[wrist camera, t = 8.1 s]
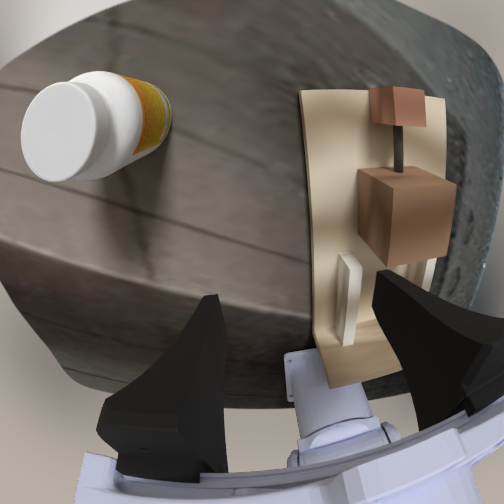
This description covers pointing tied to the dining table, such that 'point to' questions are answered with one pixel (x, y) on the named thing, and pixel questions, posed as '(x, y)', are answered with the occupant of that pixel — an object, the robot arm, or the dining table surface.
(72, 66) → the dining table surface
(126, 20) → the dining table surface
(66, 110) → the supplement bottle
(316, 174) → the shelf lane
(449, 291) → the dining table surface
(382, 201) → the walnut block
